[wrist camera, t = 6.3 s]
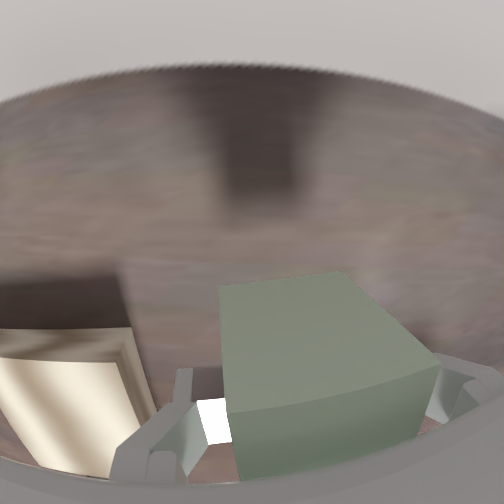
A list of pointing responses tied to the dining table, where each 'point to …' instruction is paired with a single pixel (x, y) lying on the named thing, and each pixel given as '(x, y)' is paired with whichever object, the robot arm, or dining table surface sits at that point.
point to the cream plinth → (73, 394)
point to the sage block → (317, 374)
